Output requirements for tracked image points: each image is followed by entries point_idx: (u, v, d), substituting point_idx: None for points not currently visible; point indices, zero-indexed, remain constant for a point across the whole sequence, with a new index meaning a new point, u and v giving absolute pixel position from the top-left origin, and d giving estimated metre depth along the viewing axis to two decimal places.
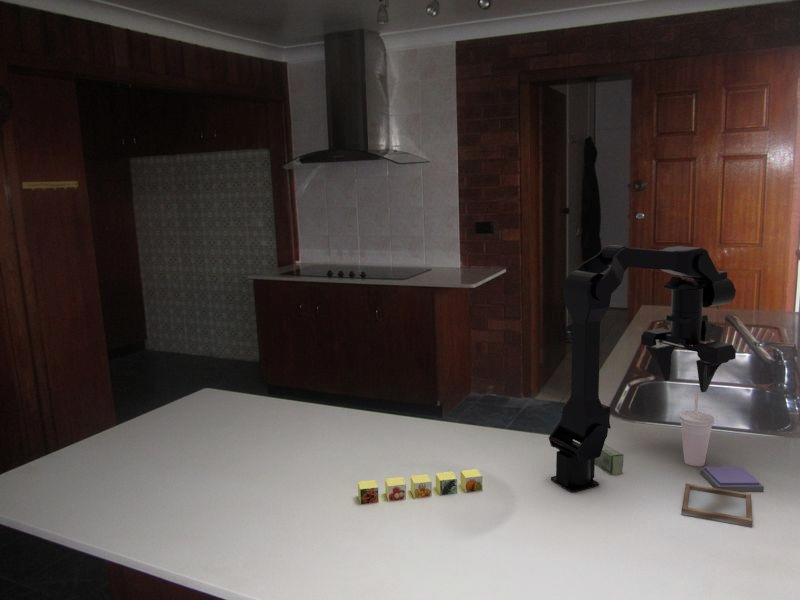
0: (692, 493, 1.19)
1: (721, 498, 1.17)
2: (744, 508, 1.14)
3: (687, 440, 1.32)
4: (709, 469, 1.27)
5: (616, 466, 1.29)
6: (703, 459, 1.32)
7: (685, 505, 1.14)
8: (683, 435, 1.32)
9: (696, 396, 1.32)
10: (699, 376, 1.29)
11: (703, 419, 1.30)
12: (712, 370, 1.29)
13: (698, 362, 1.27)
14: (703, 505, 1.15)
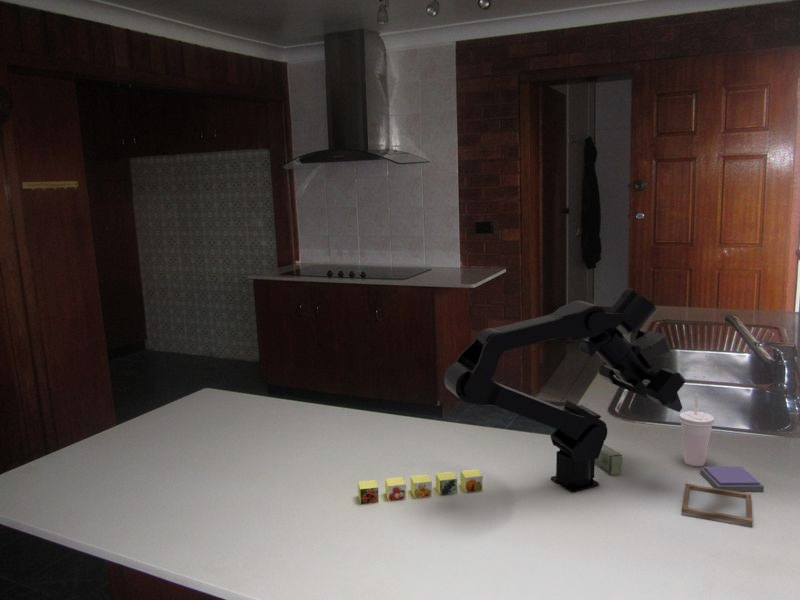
0: (692, 493, 1.19)
1: (721, 498, 1.17)
2: (744, 508, 1.14)
3: (687, 440, 1.32)
4: (709, 469, 1.27)
5: (614, 466, 1.29)
6: (703, 459, 1.32)
7: (685, 505, 1.14)
8: (683, 435, 1.32)
9: (696, 396, 1.32)
10: None
11: (703, 419, 1.30)
12: None
13: None
14: (703, 505, 1.15)
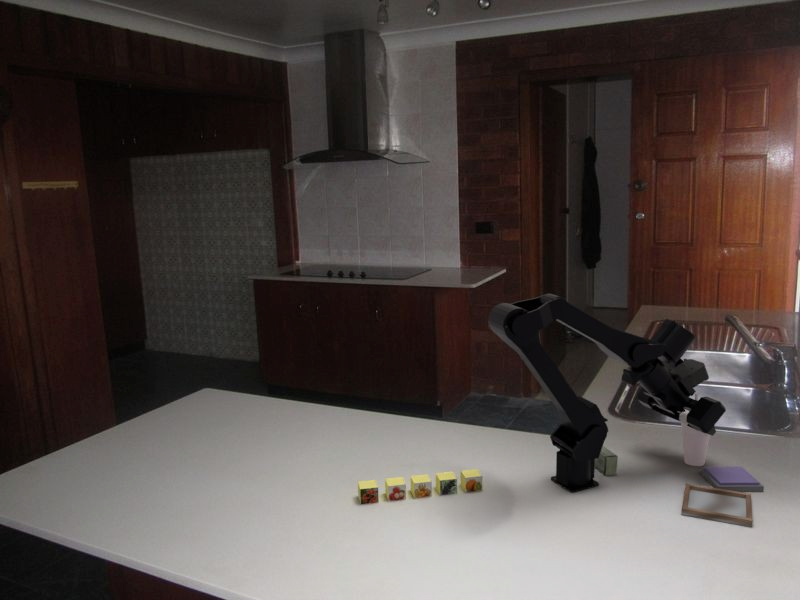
0: (692, 493, 1.19)
1: (721, 498, 1.17)
2: (744, 508, 1.14)
3: (687, 440, 1.32)
4: (709, 469, 1.27)
5: (609, 467, 1.28)
6: (703, 459, 1.32)
7: (685, 505, 1.14)
8: (683, 435, 1.32)
9: (696, 396, 1.32)
10: None
11: None
12: None
13: (689, 426, 1.26)
14: (703, 505, 1.15)
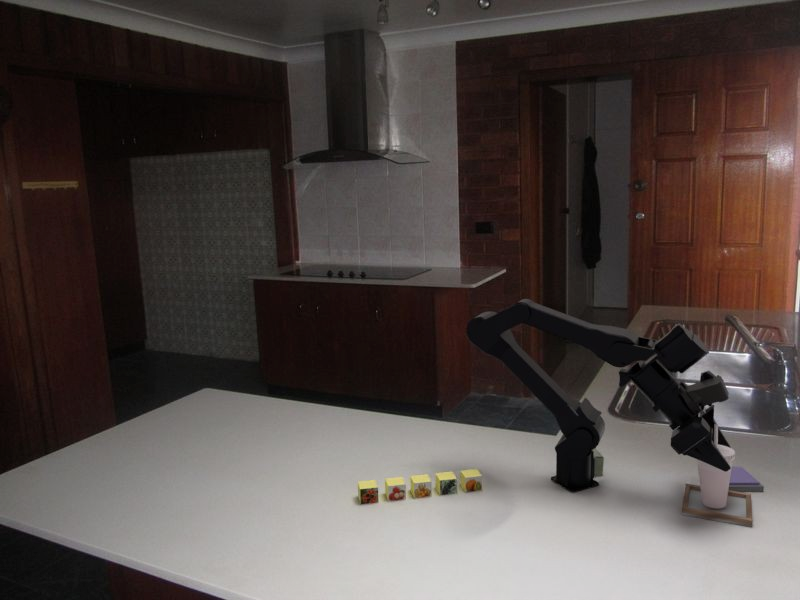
0: (692, 493, 1.19)
1: None
2: (744, 508, 1.14)
3: None
4: None
5: (595, 467, 1.28)
6: (716, 501, 1.13)
7: (685, 505, 1.14)
8: None
9: (714, 426, 1.14)
10: None
11: None
12: (710, 448, 1.08)
13: None
14: (703, 505, 1.15)
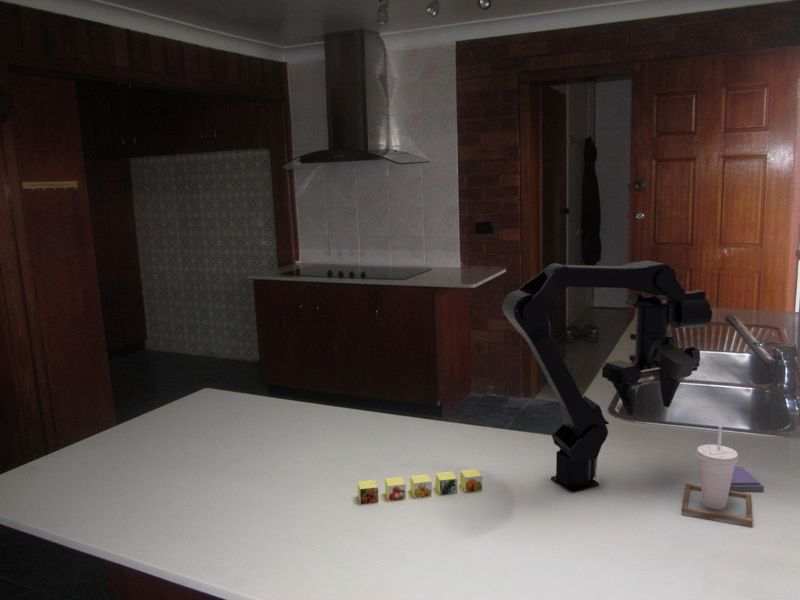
0: (692, 493, 1.19)
1: None
2: (744, 508, 1.14)
3: (700, 474, 1.15)
4: None
5: None
6: (717, 502, 1.13)
7: (685, 505, 1.14)
8: None
9: (718, 428, 1.13)
10: None
11: (717, 455, 1.12)
12: (628, 392, 1.22)
13: None
14: (703, 505, 1.15)
